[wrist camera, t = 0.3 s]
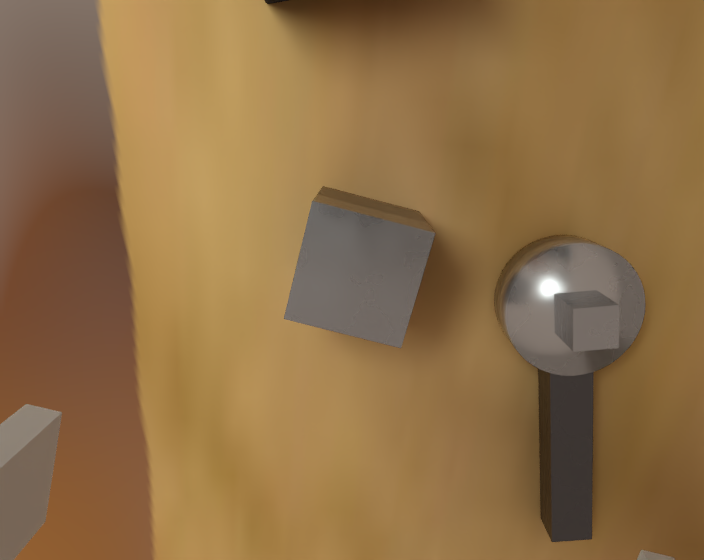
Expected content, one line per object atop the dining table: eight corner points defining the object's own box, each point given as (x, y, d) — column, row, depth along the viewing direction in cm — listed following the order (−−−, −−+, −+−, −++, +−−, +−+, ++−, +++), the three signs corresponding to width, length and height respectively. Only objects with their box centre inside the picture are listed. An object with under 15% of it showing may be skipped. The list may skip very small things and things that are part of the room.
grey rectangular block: (323, 186, 34) (312, 200, 27) (418, 211, 35) (435, 232, 27) (300, 279, 36) (283, 318, 28) (392, 302, 36) (400, 348, 28)
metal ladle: (492, 241, 35) (518, 261, 29) (623, 229, 35) (676, 247, 29) (501, 521, 40) (526, 586, 34) (617, 512, 40) (661, 577, 34)
